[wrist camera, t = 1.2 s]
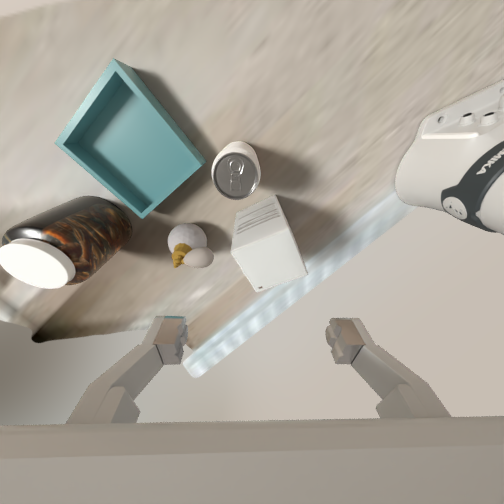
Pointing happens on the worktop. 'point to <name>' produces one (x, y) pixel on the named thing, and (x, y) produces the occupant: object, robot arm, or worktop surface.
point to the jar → (65, 242)
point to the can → (236, 171)
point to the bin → (129, 141)
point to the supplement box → (266, 245)
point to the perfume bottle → (189, 246)
